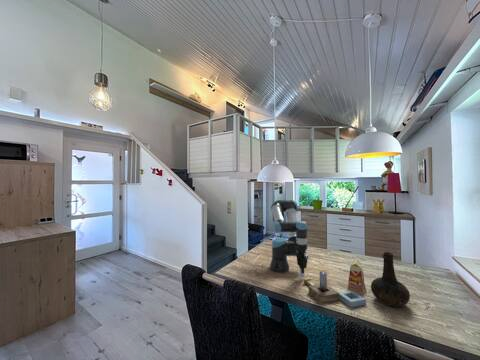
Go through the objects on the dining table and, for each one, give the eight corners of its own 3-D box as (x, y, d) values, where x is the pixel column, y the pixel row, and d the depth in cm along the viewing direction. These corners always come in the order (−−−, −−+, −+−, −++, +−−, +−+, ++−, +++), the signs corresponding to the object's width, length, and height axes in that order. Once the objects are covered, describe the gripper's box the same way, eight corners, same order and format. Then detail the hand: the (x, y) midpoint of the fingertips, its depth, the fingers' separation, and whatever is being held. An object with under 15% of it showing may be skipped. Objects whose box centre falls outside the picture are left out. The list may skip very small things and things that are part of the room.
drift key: (303, 282, 139) (303, 278, 139) (309, 282, 140) (309, 277, 140) (311, 289, 130) (311, 284, 131) (317, 288, 132) (317, 283, 132)
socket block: (308, 292, 127) (308, 286, 127) (325, 289, 130) (325, 283, 130) (321, 303, 115) (321, 296, 116) (339, 299, 119) (338, 292, 119)
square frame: (337, 297, 121) (337, 292, 121) (351, 295, 124) (351, 290, 124) (351, 307, 111) (351, 302, 111) (365, 304, 114) (365, 299, 114)
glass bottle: (410, 301, 117) (409, 252, 118) (409, 316, 104) (408, 261, 104) (374, 290, 129) (373, 246, 129) (368, 303, 115) (367, 253, 116)
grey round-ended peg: (318, 294, 124) (318, 271, 125) (324, 293, 125) (323, 270, 126) (322, 298, 120) (322, 274, 121) (328, 297, 121) (328, 273, 122)
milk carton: (350, 285, 136) (349, 255, 137) (366, 289, 130) (365, 258, 131) (347, 290, 129) (346, 258, 130) (364, 295, 123) (363, 262, 124)
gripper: (292, 241, 151) (292, 273, 150) (302, 246, 138) (302, 281, 138) (301, 240, 153) (301, 272, 152) (311, 245, 140) (312, 280, 140)
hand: (301, 276), depth 145 cm, fingers closed
